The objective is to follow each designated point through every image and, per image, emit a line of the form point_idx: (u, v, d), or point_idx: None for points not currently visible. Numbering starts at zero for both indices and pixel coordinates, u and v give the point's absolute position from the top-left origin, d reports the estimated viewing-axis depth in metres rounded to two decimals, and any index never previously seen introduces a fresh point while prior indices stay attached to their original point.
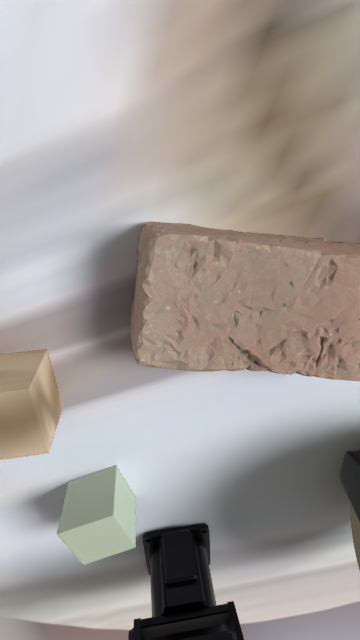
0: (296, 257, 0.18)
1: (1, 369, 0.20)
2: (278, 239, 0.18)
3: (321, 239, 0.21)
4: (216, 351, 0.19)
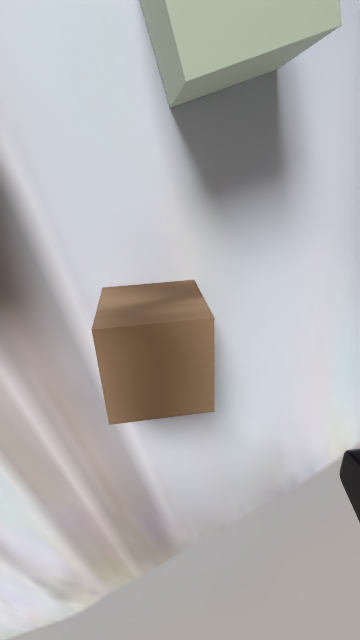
0: None
1: None
2: None
3: None
4: None
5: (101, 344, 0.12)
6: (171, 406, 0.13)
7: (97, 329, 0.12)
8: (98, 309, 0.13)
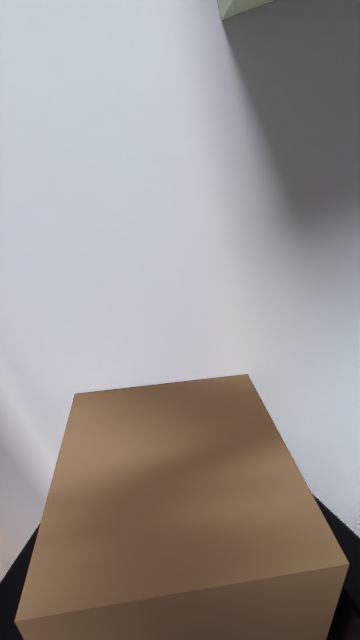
0: None
1: None
2: None
3: None
4: None
5: None
6: None
7: (31, 618, 0.04)
8: (52, 492, 0.06)
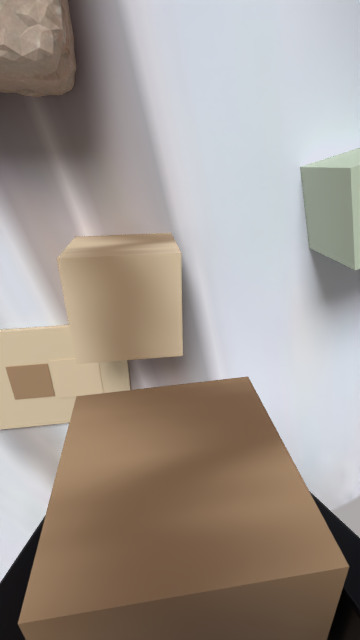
0: None
1: None
2: None
3: None
4: None
5: None
6: None
7: (34, 621, 0.04)
8: (54, 494, 0.06)
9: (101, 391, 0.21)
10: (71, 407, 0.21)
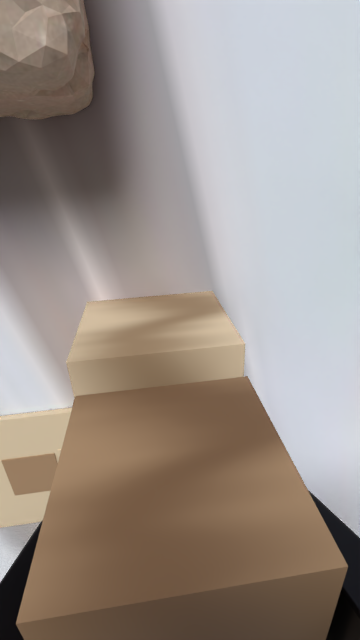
0: None
1: None
2: None
3: None
4: None
5: None
6: None
7: (32, 621, 0.04)
8: (52, 494, 0.06)
9: None
10: None
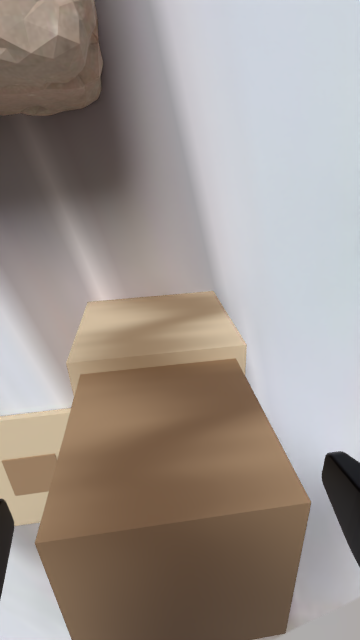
0: None
1: None
2: None
3: None
4: None
5: (60, 564, 0.05)
6: (206, 635, 0.07)
7: (48, 541, 0.05)
8: (62, 451, 0.07)
9: None
10: None
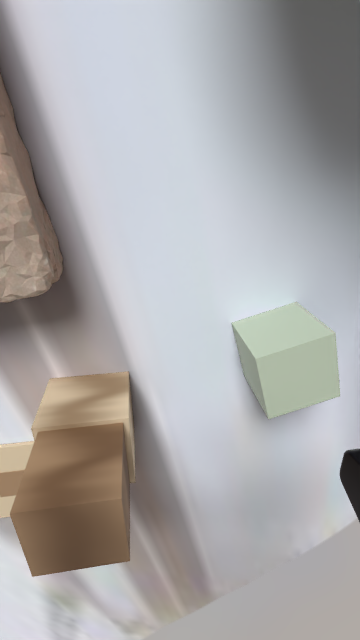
0: None
1: None
2: None
3: None
4: None
5: (20, 522, 0.13)
6: (89, 560, 0.15)
7: (15, 513, 0.13)
8: (24, 475, 0.15)
9: None
10: None
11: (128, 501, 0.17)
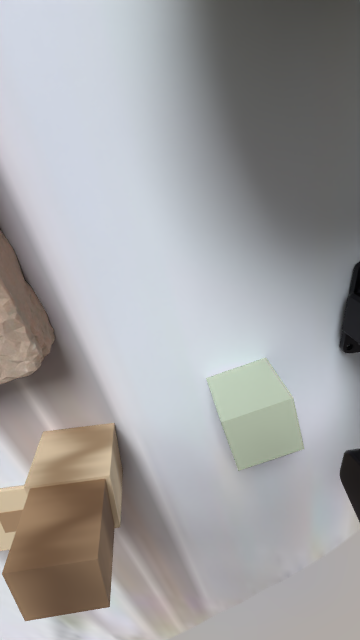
0: None
1: None
2: None
3: None
4: None
5: (11, 580, 0.16)
6: (74, 607, 0.17)
7: (6, 573, 0.15)
8: (15, 535, 0.17)
9: None
10: None
11: (110, 549, 0.19)
